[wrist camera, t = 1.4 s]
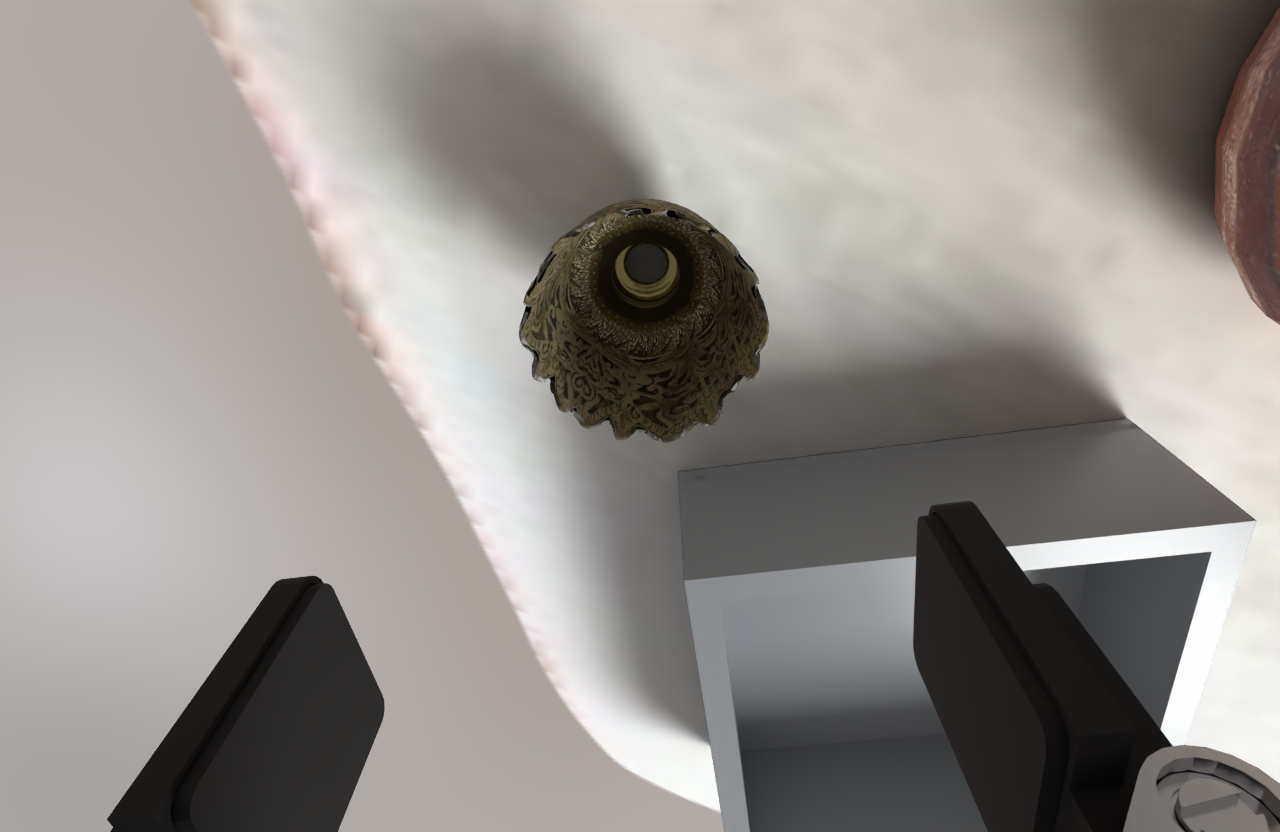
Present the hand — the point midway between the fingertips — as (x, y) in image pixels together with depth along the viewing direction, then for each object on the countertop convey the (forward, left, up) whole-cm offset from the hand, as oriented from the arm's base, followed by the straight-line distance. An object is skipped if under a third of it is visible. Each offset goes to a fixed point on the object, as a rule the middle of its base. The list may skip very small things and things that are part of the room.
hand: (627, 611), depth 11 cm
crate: (+20, +10, -19) cm, 29 cm away
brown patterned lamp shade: (0, 0, -20) cm, 20 cm away
